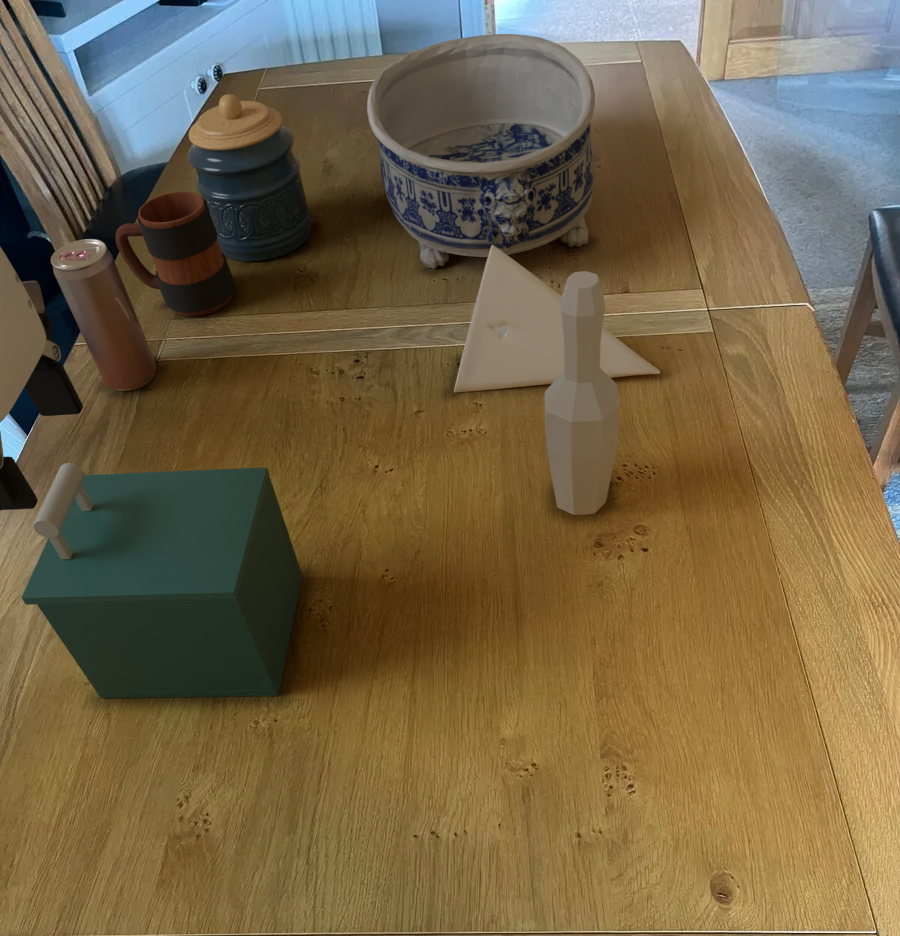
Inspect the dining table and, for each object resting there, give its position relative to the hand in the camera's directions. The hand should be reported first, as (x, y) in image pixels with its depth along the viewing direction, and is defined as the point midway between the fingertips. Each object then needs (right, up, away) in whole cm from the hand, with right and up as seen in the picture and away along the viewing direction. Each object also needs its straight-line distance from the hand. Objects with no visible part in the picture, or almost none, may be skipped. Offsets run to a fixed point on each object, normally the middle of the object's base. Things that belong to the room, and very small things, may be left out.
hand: (40, 457), depth 65 cm
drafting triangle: (+39, +15, +35) cm, 55 cm away
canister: (+4, +37, +58) cm, 69 cm away
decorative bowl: (+33, +40, +57) cm, 77 cm away
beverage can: (-7, +15, +40) cm, 44 cm away
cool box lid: (+6, -5, +5) cm, 10 cm away
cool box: (+8, -13, +15) cm, 21 cm away
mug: (-4, +26, +50) cm, 56 cm away
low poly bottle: (+40, -1, +21) cm, 45 cm away
